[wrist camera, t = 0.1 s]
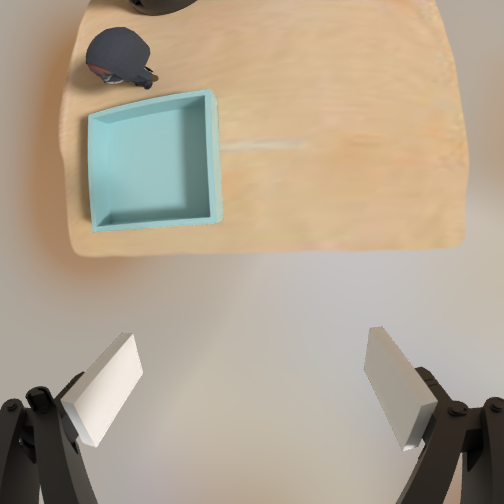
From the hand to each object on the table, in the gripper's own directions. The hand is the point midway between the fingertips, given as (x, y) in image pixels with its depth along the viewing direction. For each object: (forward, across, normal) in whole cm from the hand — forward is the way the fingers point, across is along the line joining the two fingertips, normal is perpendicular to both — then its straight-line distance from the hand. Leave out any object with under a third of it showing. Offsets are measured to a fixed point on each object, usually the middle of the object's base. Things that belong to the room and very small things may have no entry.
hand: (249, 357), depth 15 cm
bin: (+28, -14, +14) cm, 34 cm away
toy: (+28, -16, +28) cm, 43 cm away
